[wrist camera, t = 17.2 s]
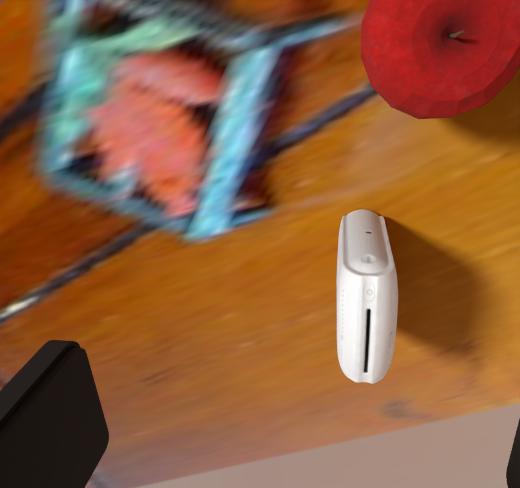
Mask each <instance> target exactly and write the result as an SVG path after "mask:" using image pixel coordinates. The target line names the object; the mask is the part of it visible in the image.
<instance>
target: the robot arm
mask: <svg viewBox="0 0 520 488" xmlns="http://www.w3.org/2000/svg"><path fill="white" fill-rule="evenodd" d="M108 441H109V432H108V428H107V425H106V421H105V418H104V414H103V411H102V407H101V403H100V400H99V396H98V393H97V389H96V386H95V382H94V378H93V375H92V371H91V368H90V364H89V361H88V357H87V354H86V351H85V350H84V349H83V348H80V345H79V344H78V343H77V342H75V341H61V340H51V341H48V342H47V343H46V344H44V345H43V347H42V348H41V349H40V350H39V351H38V352H37V353H36V354H35V355H34V356H33V357H32V358H31V359H30V360H29V361H28V362H27V363H26V364H25V365H24V367H23V368H22V369H21V370H20V371H19V372H18V373H17V374H16V375H15V376H14V377H13V378H12V379H11V380H10V381H9V382H8V383H7V384H6V385H5V386H4V388H3V389H2V390H1V391H0V488H85V486H86V484H87V482H88V480H89V479H90V477H91V475H92V473H93V472H94V470H95V468H96V466H97V464H98V463H99V461H100V459H101V457H102V456H103V454H104V452H105V450H106V448H107V445H108ZM506 478H507V485H508V488H520V420H519V423H518V427H517V431H516V435H515V439H514V443H513V447H512V451H511V455H510V459H509V463H508V467H507V473H506Z"/></svg>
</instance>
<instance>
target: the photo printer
mask: <svg viewBox="0 0 520 488" xmlns="http://www.w3.org/2000/svg"><path fill="white" fill-rule="evenodd" d="M397 314H398V283H397V273H396V268H395V263H394V259H393V255H392V251H391V246H390V242H389V238H388V233H387V229H386V224H385V220H384V217H383V216H378V215H377V214H376V213H374V212H372V211H370V210H356V211H353V212H351V213H349V214H348V215H347V216H343V217H342V221H341V224H340V229H339V241H338V260H337V352H338V359H339V363H340V366H341V369H342V371H343V373H344V374H345V375H346V376H347V377H348V378H349V379H351V380H353V381H355V382H357V383H358V382H368V383H371V384H373V383H376V382H378V381H380V380H381V379H382V378H383V377H384V376H385V375H386V373H387V371H388V369H389V366H390V365H391V361H392V357H393V351H394V344H395V337H396V327H397Z"/></svg>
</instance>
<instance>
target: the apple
mask: <svg viewBox="0 0 520 488" xmlns="http://www.w3.org/2000/svg"><path fill="white" fill-rule="evenodd" d="M361 58H362V61H363V64H364V67H365V69H366V72H367V75H368V78H369V81H370V83H371V86H372V87H373V88H374V89H375V90H376V91H377V92H378V93H379V94H380V96H381V97H382V98H383V99H384V100H385V101H386V102H387V103H388V104H389V105H390V106H391V107H392V108H395V109H397V110H399V111H401V112H404V113H406V114H408V115H411V116H413V117H415V118H417V119H429V118H450V117H453V116H456V115H458V114H461V113H464V112H466V111H469V110H471V109H474V108H477V107H479V106H482V105H485V104H487V103H488V102H489V101H490V100H491V99H492V98H493V97H494V96H495V95H496V94H497V93H498V92H499V91H500V90H501V89H502V88H503V87H504V86H505V85H506V84H507V83H508V82H509V81H510V80H511V79H512V78H513V76H514V75H515V73H516V71H517V70H518V68H519V66H520V0H370V2H369V5H368V7H367V10H366V12H365V15H364V18H363V20H362V23H361Z"/></svg>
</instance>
